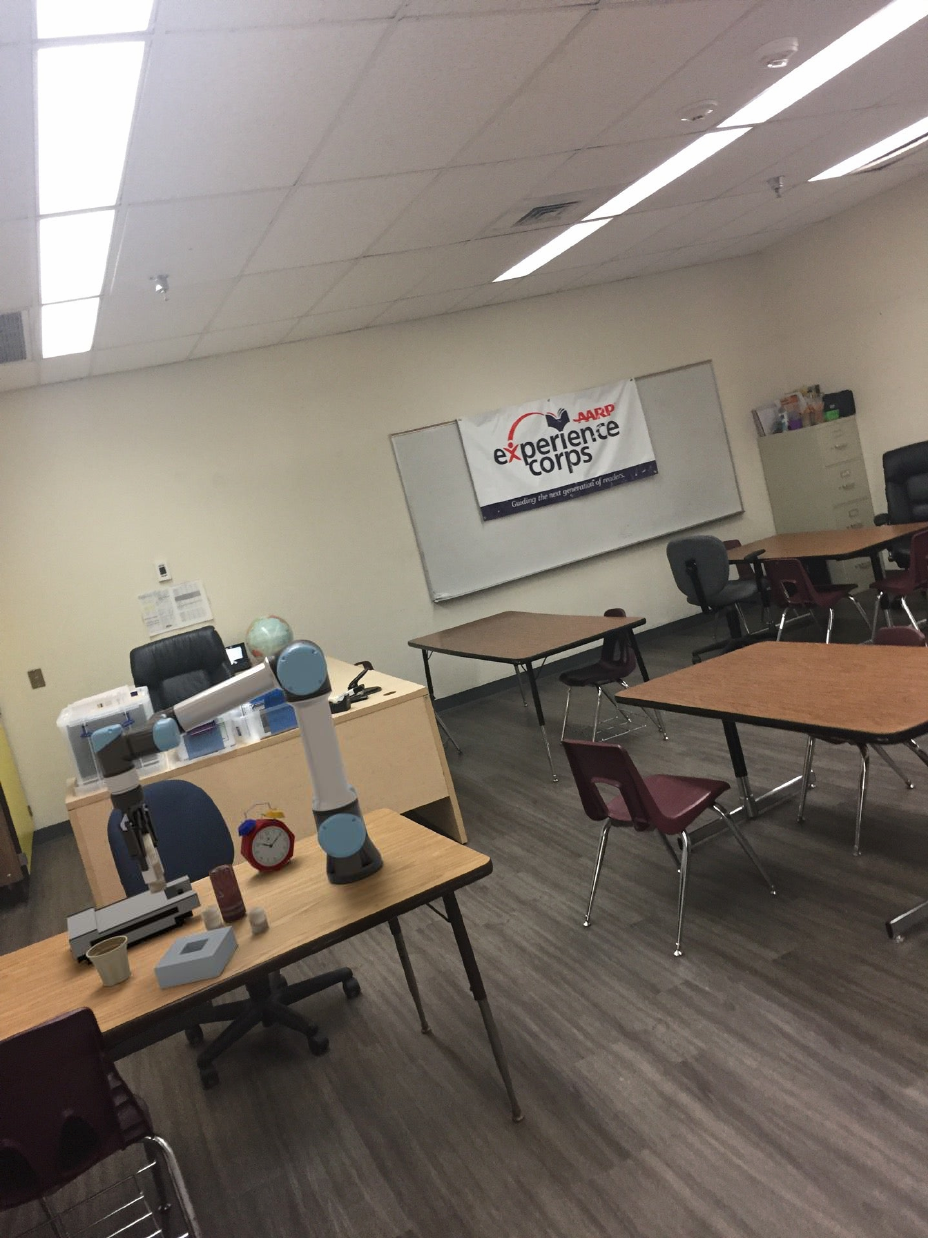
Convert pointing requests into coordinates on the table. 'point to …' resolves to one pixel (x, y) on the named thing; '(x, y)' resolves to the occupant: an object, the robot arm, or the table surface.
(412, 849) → the table surface
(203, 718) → the robot arm
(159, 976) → the hole block
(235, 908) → the can
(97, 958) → the flower pot
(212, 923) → the dowel medium
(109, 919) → the game console
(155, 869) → the dowel long
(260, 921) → the dowel short
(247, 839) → the alarm clock
